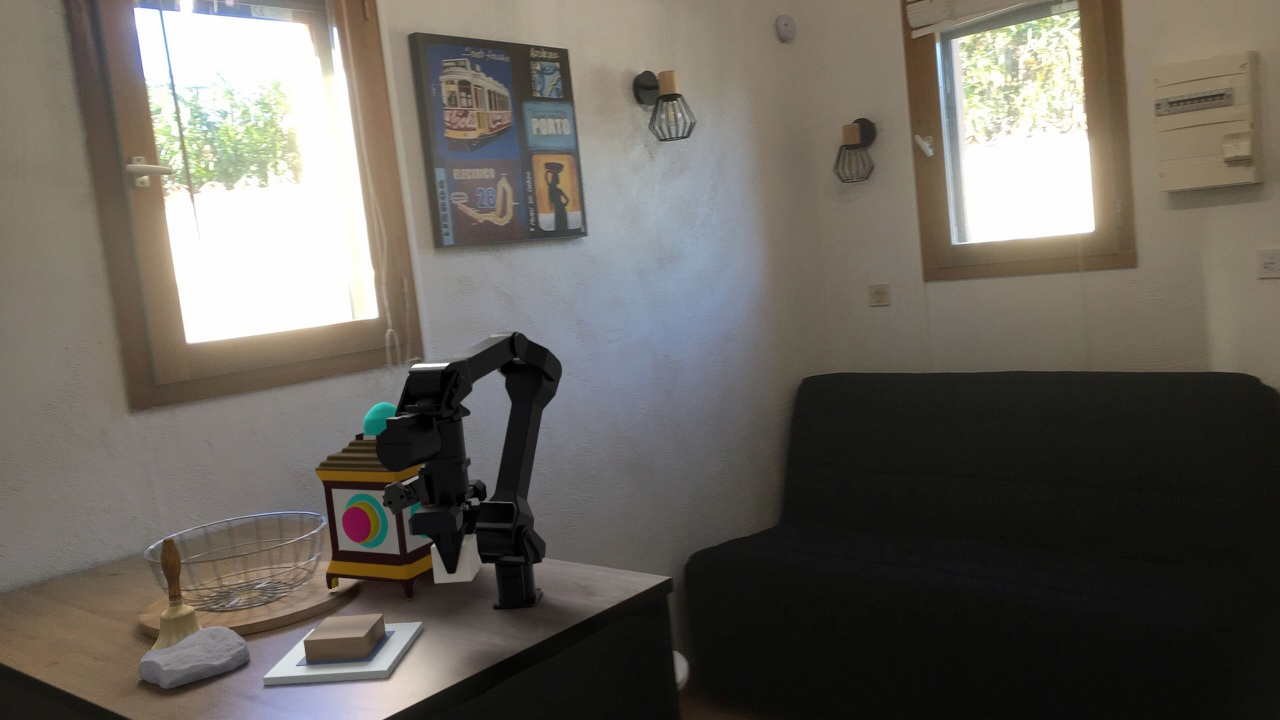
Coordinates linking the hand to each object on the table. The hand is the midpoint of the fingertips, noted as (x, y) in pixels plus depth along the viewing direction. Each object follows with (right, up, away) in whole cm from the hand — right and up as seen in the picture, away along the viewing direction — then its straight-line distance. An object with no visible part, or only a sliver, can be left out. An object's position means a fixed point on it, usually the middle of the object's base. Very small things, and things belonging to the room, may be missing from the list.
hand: (456, 567), depth 131 cm
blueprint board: (-14, -11, -2) cm, 18 cm away
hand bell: (-41, -13, +7) cm, 43 cm away
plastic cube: (0, -1, 0) cm, 1 cm away
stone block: (-34, -14, -2) cm, 37 cm away
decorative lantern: (-14, -9, +29) cm, 33 cm away
